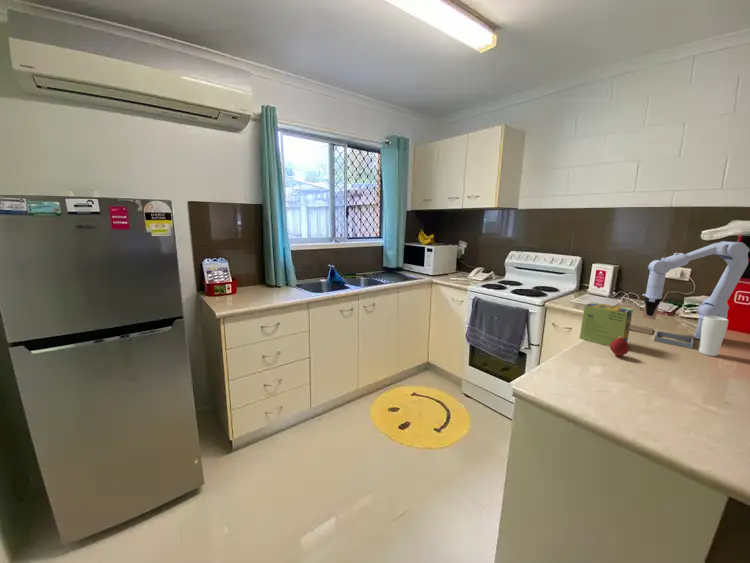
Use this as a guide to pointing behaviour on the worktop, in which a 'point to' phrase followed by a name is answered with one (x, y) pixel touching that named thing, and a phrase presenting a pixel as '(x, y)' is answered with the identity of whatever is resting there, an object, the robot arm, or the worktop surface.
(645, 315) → the block
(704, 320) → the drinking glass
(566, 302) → the worktop surface
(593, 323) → the protein box
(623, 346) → the pomegranate
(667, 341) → the square frame
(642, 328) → the board
